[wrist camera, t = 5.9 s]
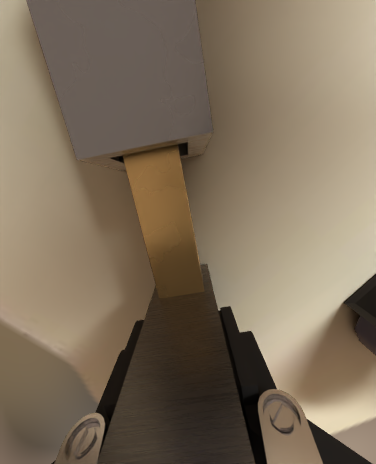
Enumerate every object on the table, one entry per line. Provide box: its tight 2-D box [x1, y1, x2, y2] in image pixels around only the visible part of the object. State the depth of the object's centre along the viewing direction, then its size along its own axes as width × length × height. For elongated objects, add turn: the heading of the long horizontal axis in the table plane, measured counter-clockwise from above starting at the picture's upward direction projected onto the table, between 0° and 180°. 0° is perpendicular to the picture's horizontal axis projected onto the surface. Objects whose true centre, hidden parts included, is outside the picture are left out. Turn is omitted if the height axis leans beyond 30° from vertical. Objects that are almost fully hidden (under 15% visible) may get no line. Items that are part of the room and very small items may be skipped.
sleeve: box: [27, 0, 213, 171], centre depth 8 cm, size 6×12×5 cm, turn 11°
